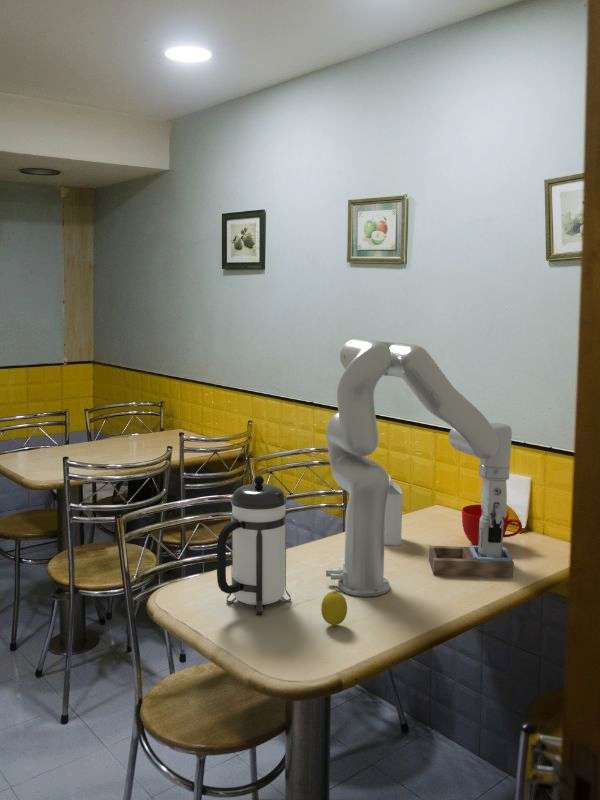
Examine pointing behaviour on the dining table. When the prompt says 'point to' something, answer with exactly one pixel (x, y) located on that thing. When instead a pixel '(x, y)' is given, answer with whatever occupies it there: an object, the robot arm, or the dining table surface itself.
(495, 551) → the energy drink can
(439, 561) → the block
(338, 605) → the lemon
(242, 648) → the dining table surface
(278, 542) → the coffee press
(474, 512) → the ceramic cup
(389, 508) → the milk carton
